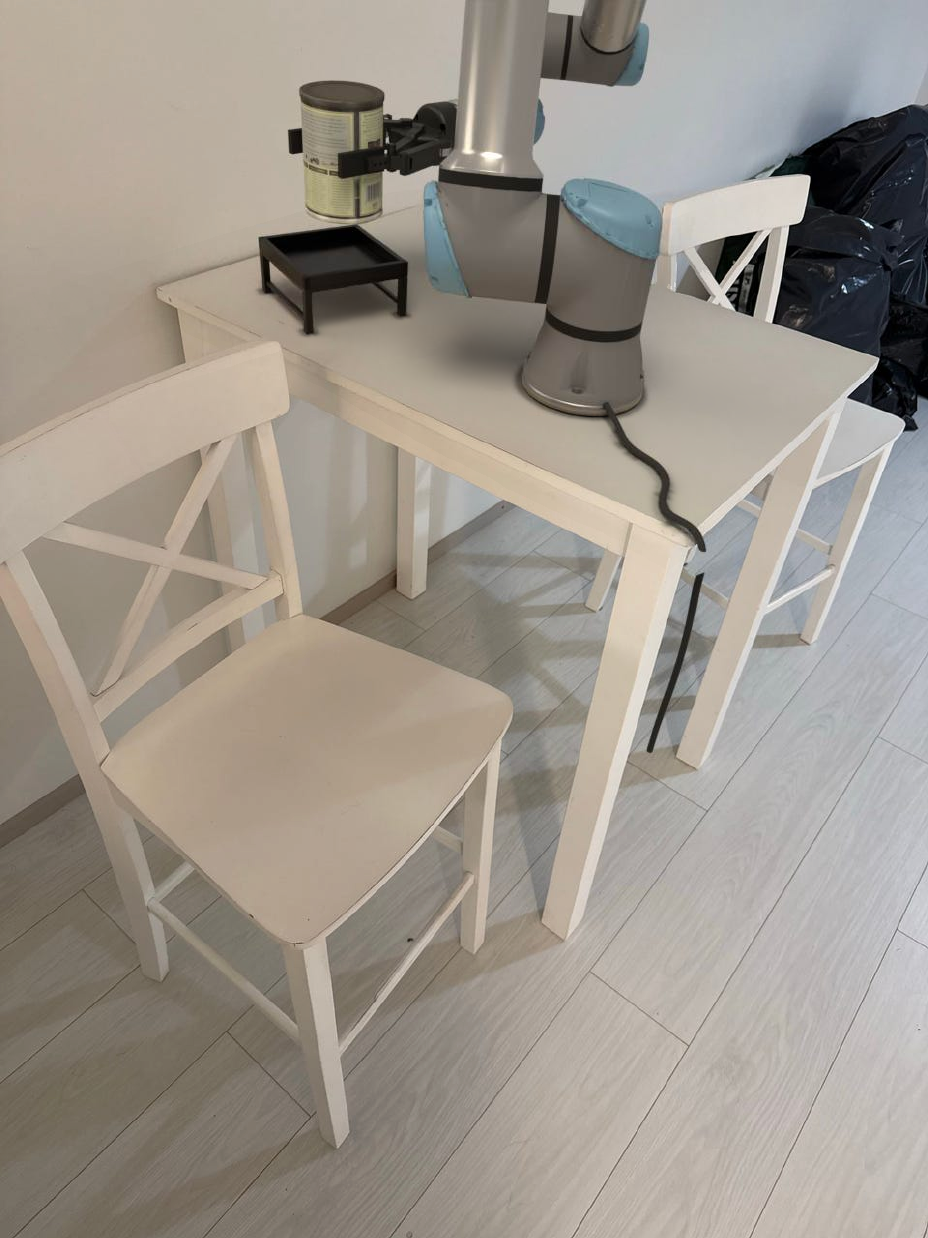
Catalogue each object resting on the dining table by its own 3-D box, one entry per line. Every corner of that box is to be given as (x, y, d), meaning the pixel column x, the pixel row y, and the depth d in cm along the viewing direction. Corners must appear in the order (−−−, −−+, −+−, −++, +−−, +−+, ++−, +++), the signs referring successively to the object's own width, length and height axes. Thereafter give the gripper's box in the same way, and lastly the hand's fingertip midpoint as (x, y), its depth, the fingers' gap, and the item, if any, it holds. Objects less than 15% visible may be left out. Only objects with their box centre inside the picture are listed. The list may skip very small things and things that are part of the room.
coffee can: (313, 193, 123) (309, 75, 114) (388, 202, 123) (391, 85, 114) (295, 219, 116) (289, 95, 106) (375, 228, 115) (376, 105, 106)
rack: (406, 315, 126) (408, 261, 121) (306, 334, 119) (304, 277, 114) (357, 275, 135) (357, 223, 130) (262, 290, 128) (258, 236, 123)
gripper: (503, 185, 120) (369, 213, 109) (398, 139, 132) (266, 160, 121) (509, 123, 115) (369, 145, 104) (399, 81, 127) (262, 97, 115)
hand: (314, 153), depth 112 cm, fingers closed on coffee can, 10 cm apart
